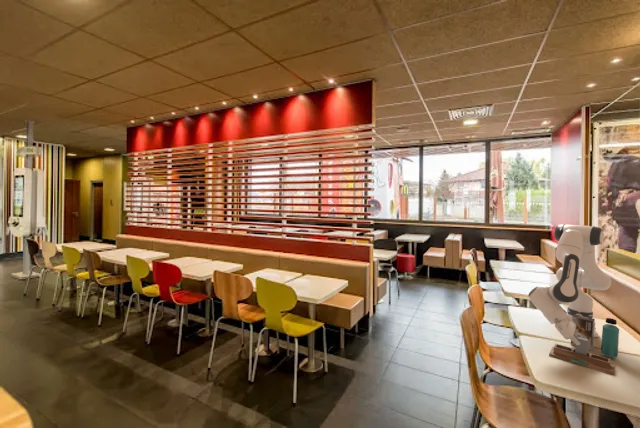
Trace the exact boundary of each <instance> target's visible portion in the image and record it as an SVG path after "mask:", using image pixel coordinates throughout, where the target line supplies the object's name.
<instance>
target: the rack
mask: <svg viewBox="0 0 640 428" xmlns="http://www.w3.org/2000/svg"><path fill="white" fill-rule="evenodd" d="M548 356H549V357H552V358H556V359H559V360H563V361H565V362H568V363H571V364H575V365H579V366H582V367H585V368H589V369H592V370H595V371H599V372H603V373H604V374H609V375H612V376H614V375H615V363H612V362H611V358H608V357H607V356H601V355H598V354H595V353H591V352H588V351H587V356H585V355H582V354H578V353H575V348H573V347H570V346H566V345H562V344H559V343H555V344H554V345H553V346H552V347H551V350H550V352H549V353H548Z"/></svg>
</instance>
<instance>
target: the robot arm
mask: <svg viewBox="0 0 640 428" xmlns="http://www.w3.org/2000/svg"><path fill="white" fill-rule="evenodd" d="M553 235H554V238H555V240H557V241H558V242H557V246H556V249H555V250H556V251H555V258H556V260H557V261H558V262H559V263H561V264H562V267H560V268H558V270H557V271H556V274H555V277H556V279H557V281H558V282H556V283H555V284H552V285H548V286H536V287H533V289H531V291H530V292H529V293H528V295H527V296H528V299H529V300H530V302H531V303H532V304H533V305H534V306H535V308H536V309H537V310H539V311H540V312H541V314H542V315H543V316H544V317H545V319H546V320H547V321H548V322H549V323H550V324H551V325H554V327H555V328H556V331H558V332H559V334H560V335H561V336H562V337H563V338H564V339H565V340H570V342H571V341H573V342H574V343H575V344H576V345H580V342H579V341H578V340H577V339H576V338H575V337H574V336H573V335H575V336H576V337H581V338H582V336H581V335H580V334H579V333H578V331H577V330H576V324H575V323H574V322H573V321H572V317H573V315H574V314H575V315H580V316H584V317H588V318H592V319H594V312H593V305H594V303H593V302H594V300H593V298H592V297H591V296H590V295H589V294H587V293H585V291H583V290H582V288H583V289H590V290H594V291H607V290H608V289H609V288H611V285H612V279H611V277H610V275H609V274H607V273H606V272H604V271H603V270H602V269H601V268H600V267H599V265H598V264H597V261H596V246H598V245H601V244H602V243H603V241H604V239H605V233H604V230H603V229H602V228H601V227H597V226H594V225H593V226H592V225H584V224H565V223H564V224H558V225H557V226H556V227H555V229H554V231H553ZM566 303H568V306H567V310H565V309H563V308H561V306H560V304H566ZM596 329H597V328H596V322H594V338H600V335H599V332H597V330H596Z"/></svg>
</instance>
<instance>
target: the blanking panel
mask: <svg viewBox="0 0 640 428" xmlns="http://www.w3.org/2000/svg"><path fill="white" fill-rule="evenodd" d="M576 339H577V340H578V341H579V342H580V345H575V346H574V347H575V348H574V349H575V353H578V354H582V355H585V356H587V352H588V351H589V350H588V339H585V338H581V337H576Z"/></svg>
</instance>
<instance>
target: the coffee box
mask: <svg viewBox="0 0 640 428" xmlns="http://www.w3.org/2000/svg"><path fill="white" fill-rule="evenodd" d="M572 321H573V322H574V323H575V324H576V330H577V331H578V333H579V334H580V335H581V336H582V338H585V339H588V350H587V351H593V349H594V338H595V337H594V322H595V321H596V320H595V318H588V317H584V316H580V315H575V314H574V315H573V317H572ZM595 323H596V322H595ZM573 336H574V337H575V338H576V336H575V335H573ZM570 345H571V346H573V345H574V346H573V347H575V345H576V344H575V343H574V342H573V341H571V340H570Z"/></svg>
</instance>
